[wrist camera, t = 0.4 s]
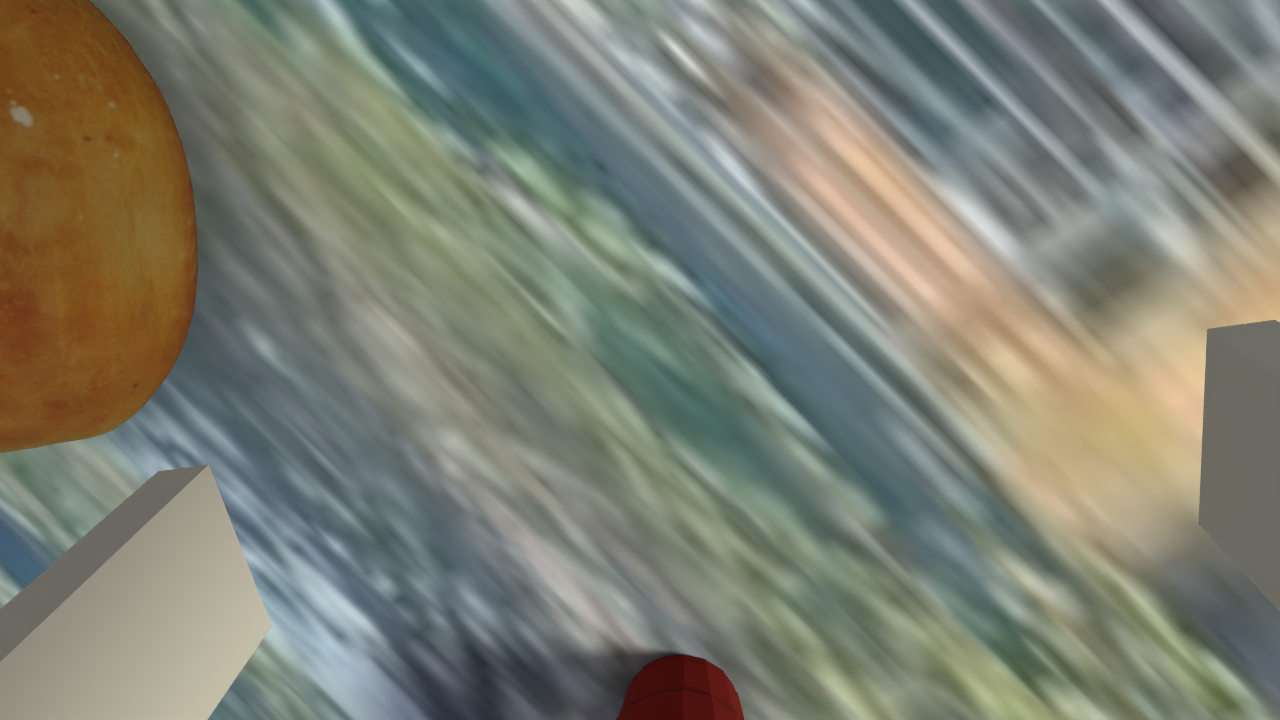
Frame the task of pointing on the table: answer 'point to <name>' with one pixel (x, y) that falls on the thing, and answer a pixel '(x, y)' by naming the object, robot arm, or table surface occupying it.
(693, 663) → the plastic cup
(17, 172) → the bread
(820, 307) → the table surface
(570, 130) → the table surface
